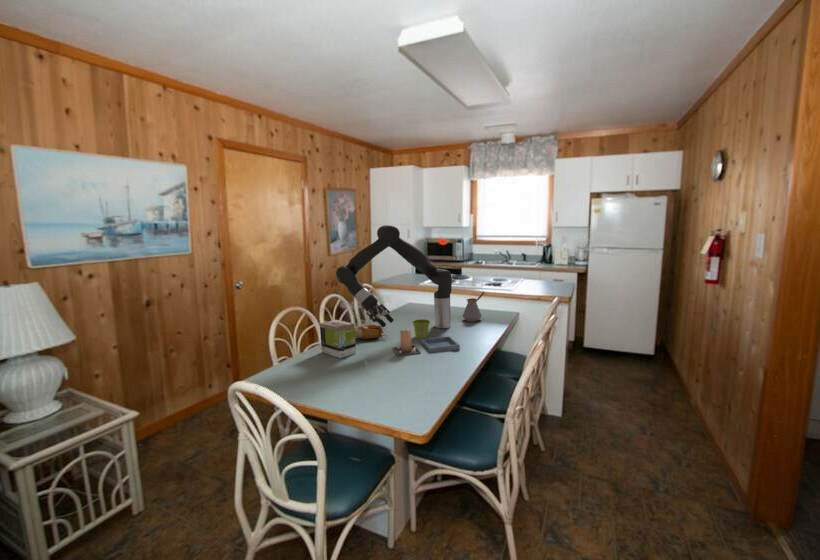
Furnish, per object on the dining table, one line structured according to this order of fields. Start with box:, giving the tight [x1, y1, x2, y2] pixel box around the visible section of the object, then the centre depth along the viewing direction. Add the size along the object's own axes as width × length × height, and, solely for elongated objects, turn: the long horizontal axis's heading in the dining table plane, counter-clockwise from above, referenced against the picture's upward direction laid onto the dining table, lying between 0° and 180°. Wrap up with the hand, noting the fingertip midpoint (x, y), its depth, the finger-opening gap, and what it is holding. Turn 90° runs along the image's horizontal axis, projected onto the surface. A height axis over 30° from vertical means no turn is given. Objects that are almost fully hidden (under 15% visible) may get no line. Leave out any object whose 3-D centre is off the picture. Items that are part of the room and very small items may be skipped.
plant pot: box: [412, 318, 431, 339], centre depth 208 cm, size 9×9×9 cm
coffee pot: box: [462, 291, 487, 323], centre depth 242 cm, size 21×12×15 cm, turn 141°
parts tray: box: [392, 344, 421, 357], centre depth 187 cm, size 11×11×2 cm
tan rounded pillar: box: [399, 327, 412, 353], centre depth 186 cm, size 5×5×11 cm
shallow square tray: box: [421, 335, 461, 353], centre depth 193 cm, size 15×15×2 cm
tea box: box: [319, 319, 357, 359], centre depth 188 cm, size 15×10×15 cm, turn 47°
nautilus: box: [355, 322, 390, 341], centre depth 209 cm, size 8×22×15 cm
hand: (388, 323), depth 188 cm, fingers open, 8 cm apart
